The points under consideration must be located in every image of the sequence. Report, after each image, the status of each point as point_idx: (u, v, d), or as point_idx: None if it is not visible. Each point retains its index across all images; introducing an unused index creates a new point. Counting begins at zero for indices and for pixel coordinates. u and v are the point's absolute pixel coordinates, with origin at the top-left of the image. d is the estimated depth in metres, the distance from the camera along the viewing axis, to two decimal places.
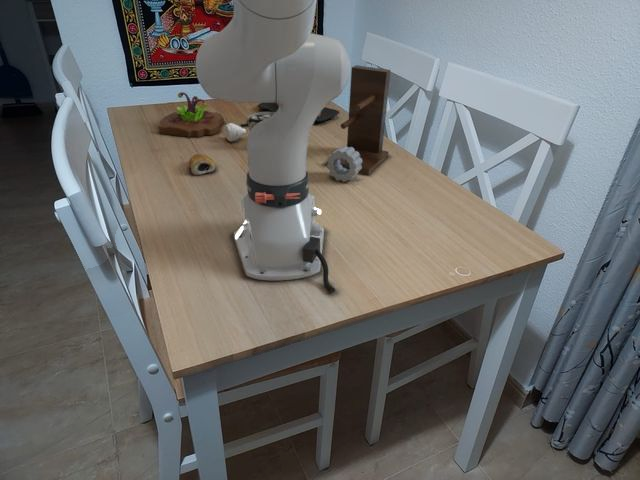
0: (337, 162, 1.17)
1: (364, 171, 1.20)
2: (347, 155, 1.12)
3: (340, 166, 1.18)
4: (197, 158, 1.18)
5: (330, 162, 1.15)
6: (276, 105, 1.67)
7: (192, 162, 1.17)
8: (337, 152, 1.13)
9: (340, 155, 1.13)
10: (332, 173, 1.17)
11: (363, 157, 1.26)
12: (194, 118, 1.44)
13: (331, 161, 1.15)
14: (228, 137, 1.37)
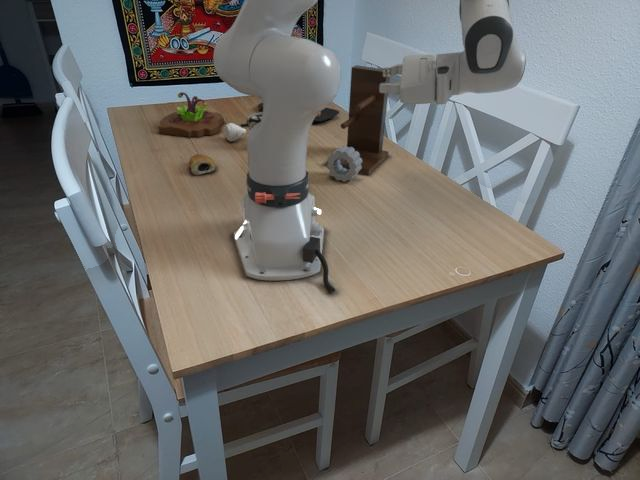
0: (337, 162, 1.17)
1: (364, 171, 1.20)
2: (347, 155, 1.12)
3: (340, 166, 1.18)
4: (197, 158, 1.18)
5: (330, 162, 1.15)
6: None
7: (192, 162, 1.17)
8: (337, 152, 1.13)
9: (340, 155, 1.13)
10: (332, 173, 1.17)
11: (363, 157, 1.26)
12: (194, 118, 1.44)
13: (331, 161, 1.15)
14: (228, 137, 1.37)
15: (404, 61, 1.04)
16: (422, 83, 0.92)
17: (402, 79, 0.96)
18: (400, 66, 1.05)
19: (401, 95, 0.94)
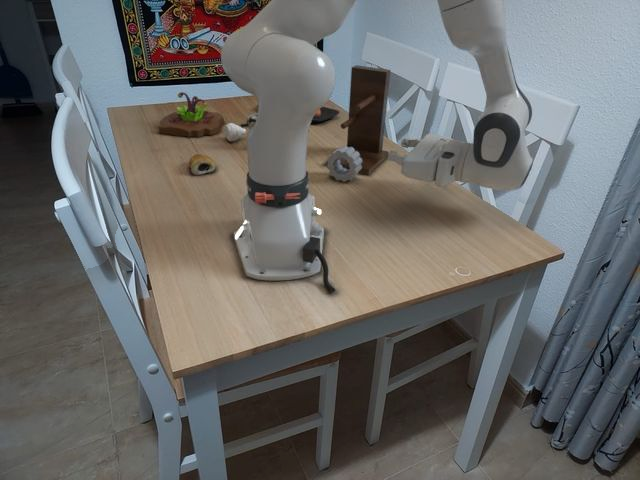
0: (337, 162, 1.17)
1: (364, 171, 1.20)
2: (347, 155, 1.12)
3: (340, 166, 1.18)
4: (197, 158, 1.18)
5: (330, 162, 1.15)
6: None
7: (192, 162, 1.17)
8: (337, 152, 1.13)
9: (340, 155, 1.13)
10: (332, 173, 1.17)
11: (363, 157, 1.26)
12: (194, 118, 1.44)
13: (331, 161, 1.15)
14: (228, 137, 1.37)
15: (424, 137, 1.09)
16: (423, 161, 0.96)
17: (410, 153, 1.00)
18: (419, 141, 1.09)
19: (402, 167, 0.98)
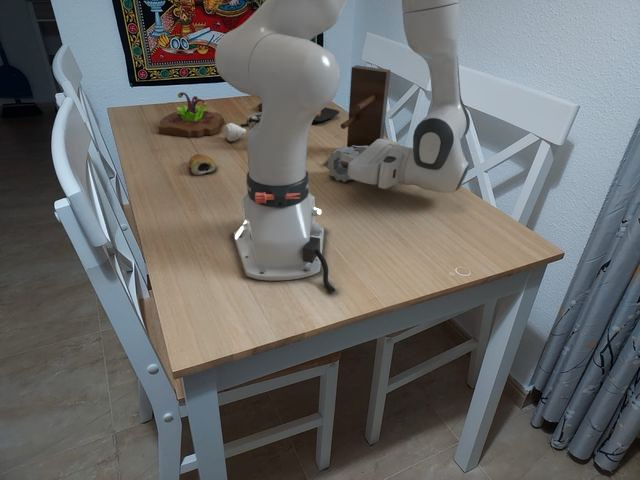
0: (337, 162, 1.17)
1: None
2: None
3: (340, 166, 1.18)
4: (197, 158, 1.18)
5: (330, 162, 1.15)
6: None
7: (192, 162, 1.17)
8: (337, 152, 1.13)
9: (340, 155, 1.13)
10: (332, 173, 1.17)
11: None
12: (194, 118, 1.44)
13: (331, 161, 1.15)
14: (228, 137, 1.37)
15: (373, 142, 1.16)
16: (366, 165, 1.02)
17: (356, 157, 1.07)
18: None
19: (348, 170, 1.05)
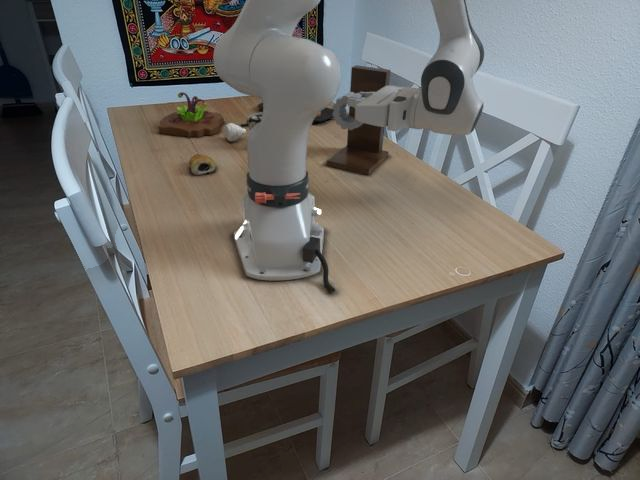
0: (343, 110, 1.11)
1: (364, 171, 1.20)
2: None
3: (346, 115, 1.12)
4: (197, 158, 1.18)
5: (336, 109, 1.09)
6: None
7: (192, 162, 1.17)
8: (343, 97, 1.07)
9: (346, 100, 1.07)
10: (338, 121, 1.11)
11: (363, 157, 1.26)
12: (194, 118, 1.44)
13: (337, 108, 1.09)
14: (228, 137, 1.37)
15: (381, 88, 1.10)
16: (375, 105, 0.96)
17: (364, 99, 1.01)
18: None
19: (355, 112, 0.99)
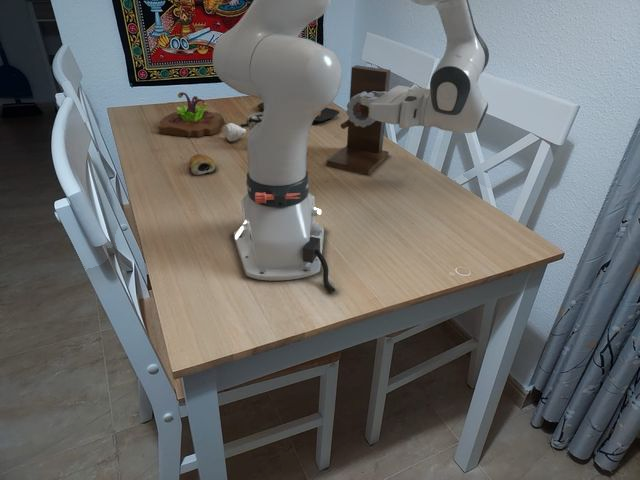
0: None
1: (364, 171, 1.20)
2: None
3: (359, 113, 1.20)
4: (197, 158, 1.18)
5: (350, 107, 1.17)
6: None
7: (192, 162, 1.17)
8: (357, 96, 1.15)
9: (360, 99, 1.15)
10: (351, 119, 1.18)
11: (363, 157, 1.26)
12: (194, 118, 1.44)
13: (351, 106, 1.17)
14: (228, 137, 1.37)
15: (392, 88, 1.17)
16: (388, 104, 1.04)
17: (377, 99, 1.09)
18: None
19: (369, 110, 1.07)
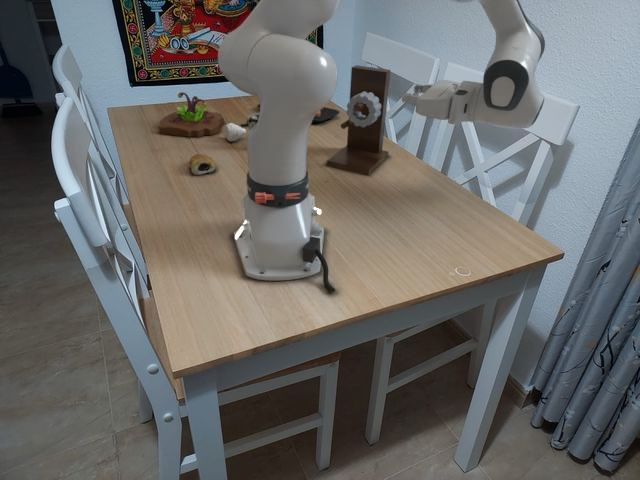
0: None
1: (364, 171, 1.20)
2: (367, 99, 1.14)
3: (359, 113, 1.20)
4: (197, 158, 1.18)
5: (350, 107, 1.17)
6: None
7: (192, 162, 1.17)
8: (357, 96, 1.15)
9: (360, 99, 1.15)
10: (351, 119, 1.18)
11: (363, 157, 1.26)
12: (194, 118, 1.44)
13: (351, 106, 1.17)
14: (228, 137, 1.37)
15: None
16: (437, 98, 0.98)
17: (424, 93, 1.03)
18: (432, 86, 1.12)
19: (417, 105, 1.01)
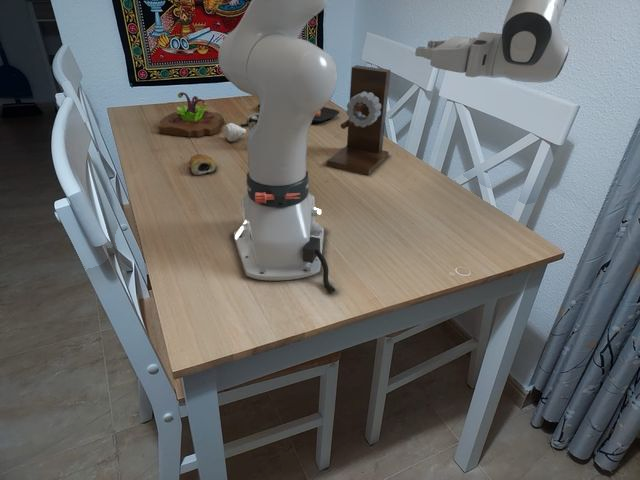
0: None
1: (364, 171, 1.20)
2: (367, 99, 1.14)
3: (359, 113, 1.20)
4: (197, 158, 1.18)
5: (350, 107, 1.17)
6: None
7: (192, 162, 1.17)
8: (357, 96, 1.15)
9: (360, 99, 1.15)
10: (351, 119, 1.18)
11: (363, 157, 1.26)
12: (194, 118, 1.44)
13: (351, 106, 1.17)
14: (228, 137, 1.37)
15: (451, 38, 1.05)
16: (454, 48, 0.92)
17: (439, 45, 0.97)
18: (446, 42, 1.05)
19: (432, 57, 0.94)
